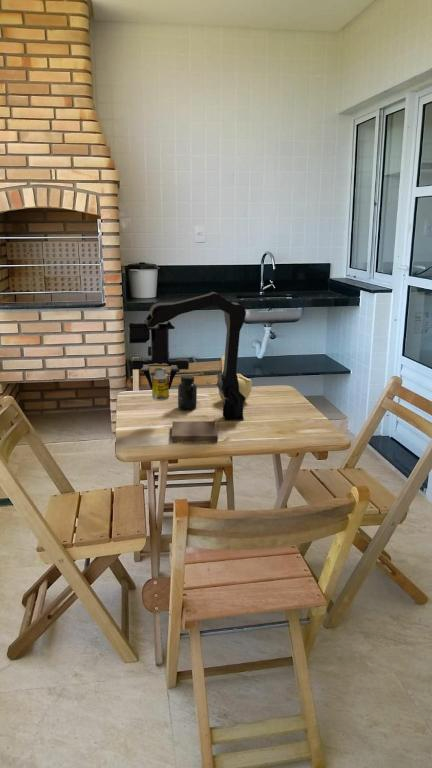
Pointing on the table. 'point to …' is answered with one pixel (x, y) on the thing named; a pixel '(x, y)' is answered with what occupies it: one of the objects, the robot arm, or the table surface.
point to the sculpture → (242, 387)
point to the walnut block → (194, 431)
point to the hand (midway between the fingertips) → (160, 388)
